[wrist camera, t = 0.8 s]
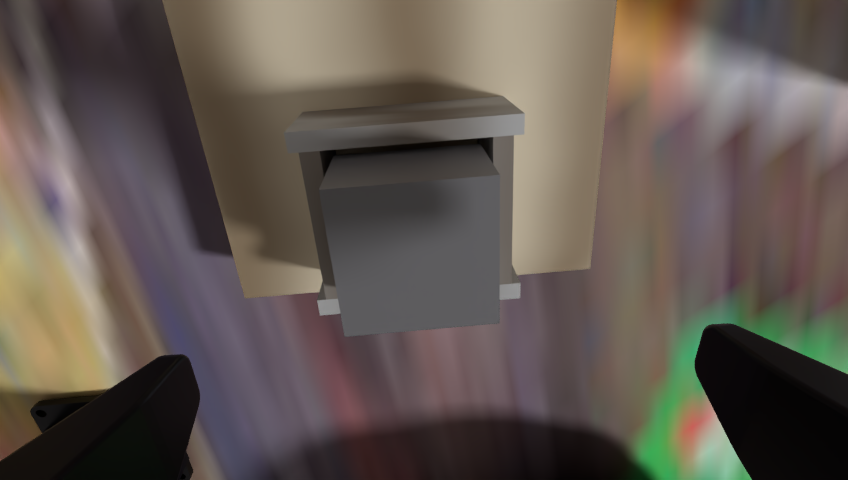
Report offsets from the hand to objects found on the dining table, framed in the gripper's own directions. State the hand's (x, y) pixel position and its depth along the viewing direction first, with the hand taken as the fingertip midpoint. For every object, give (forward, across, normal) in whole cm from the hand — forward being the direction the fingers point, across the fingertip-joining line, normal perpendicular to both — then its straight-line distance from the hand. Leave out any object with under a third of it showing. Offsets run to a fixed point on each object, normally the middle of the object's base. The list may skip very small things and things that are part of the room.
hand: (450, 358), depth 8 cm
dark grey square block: (+7, 0, 0) cm, 7 cm away
